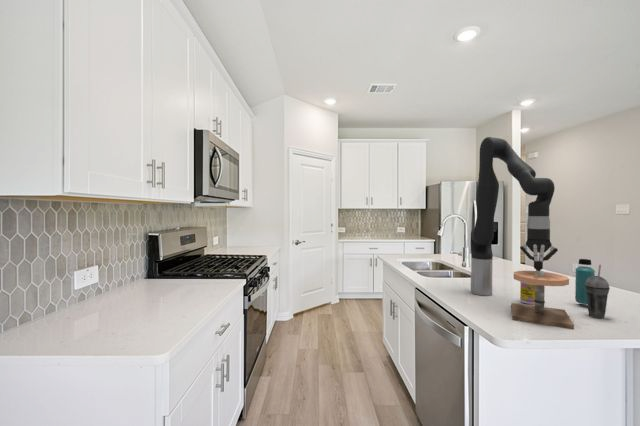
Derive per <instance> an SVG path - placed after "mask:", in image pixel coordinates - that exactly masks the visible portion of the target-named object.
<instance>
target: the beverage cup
mask: <svg viewBox="0 0 640 426" xmlns="http://www.w3.org/2000/svg"><path fill="white" fill-rule="evenodd" d="M601 268H602V264H598V272H597V275H595V276H592V277H589V278H588V279H587V280H586V282H585V289H586V293H587V303H588V305H587V312H588V316H589V317H591V318H594V319H601V320H602V319H603V320H604V319H605V316H606V311H607V304H608V296H609V293H610V284H609V282H608V280H607V279H605V278H604V277H601V276H600V274H601Z"/></svg>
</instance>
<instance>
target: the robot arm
mask: <svg viewBox="0 0 640 426" xmlns="http://www.w3.org/2000/svg"><path fill="white" fill-rule="evenodd" d="M494 159H499V160H500V161H503V162H504V163H505V164H506V168H507V171H508V173H509V174H510V175H511V176H512V177H513V178H514V179H515V180H517V182H518V183H519V186H520V187H521V189H522V191H523V192H524V193H525V194H527V195H529V196H536V199H535V200H534V201H530V202H529V203H528V206H527V209H528V211H527V221H526V222H527V223H526V227H527V228H526V229H527V231H526V232H527V233H526V239H527V240H526V241H525V244H523V245H521V246H520V247H519V249H520V250H521V251H522V252H523V254H524V255H525V256H526V257H527V258H528V259H529V260H532V261H533V269H535V271H542V270H543V268H544V267H543V265H544V262H546V261H549V260H550V259H551V258H552V257H553V256H554V255H556V253H557V252H558V251H559V250H558V248H557V247H555V246H553V245H552V242H551V219H550V205H551V203H552V200H553V197H554V192H555V183H554V182H553V180H552V179H551V178H548V177H536V176H537V173H536V171H535V169H534V168H532V166H531V165H529V164H527V163H526V162H525V161H524V160H523V159H522V158H521V157H520V156H519V155H518V154H517V152H516V151H515V150H514V149H513V148H512V146H511V145H510V144H509V142H508V141H507V140H505V139H503V138H500V137H491V136H487V137H485V138H484V139H483V140H482V141H481V143H480V146H479V161H478V162H479V163H478V164H479V166H478V170H479V171H478V179H477V180H478V181H477V186H476V196H475V197H476V200H475V201H476V202H475V205H476V221H475V225H474V227H473V228H472V230H471V232H470V254H471V255H470V256H471V258H470V259H471V260H470V261H471V264H470V267H471V269H470V270H471V271H470V272H471V273H470V294H474V295H478V296H492V295H493V257H494V256H493V249H492V241H493V240H494V236H495V230H494V229H495V223H494V222H495V214H496V209H497V203H498V198H499V191H500V190H499V189H500V183H499V179H498V177H497V176H496V173H495V171H494V165H493V164H494ZM528 249H529V251H531V252H532V255H531V254H530V252H529V251H528ZM548 250H549V252H548V253H547V254H546V255H545V253H546V252H547V251H548ZM538 254H539V255H538Z"/></svg>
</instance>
